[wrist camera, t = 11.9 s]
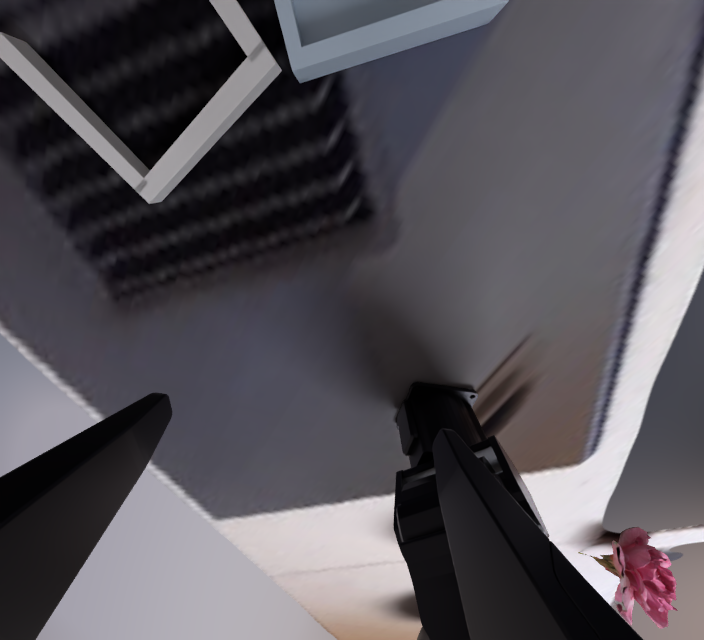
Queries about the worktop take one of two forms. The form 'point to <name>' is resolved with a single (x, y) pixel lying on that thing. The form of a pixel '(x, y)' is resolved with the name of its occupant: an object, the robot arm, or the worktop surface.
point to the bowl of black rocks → (423, 635)
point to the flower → (641, 576)
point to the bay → (196, 136)
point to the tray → (370, 29)
